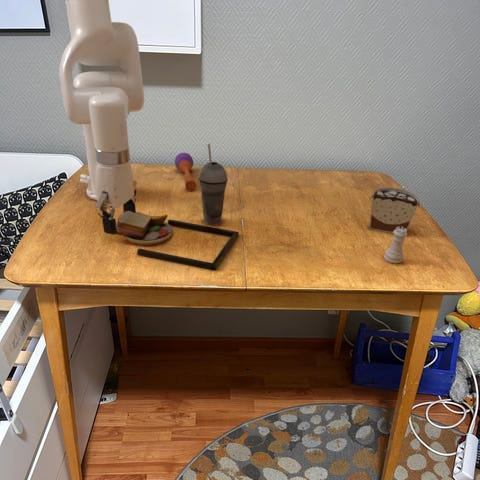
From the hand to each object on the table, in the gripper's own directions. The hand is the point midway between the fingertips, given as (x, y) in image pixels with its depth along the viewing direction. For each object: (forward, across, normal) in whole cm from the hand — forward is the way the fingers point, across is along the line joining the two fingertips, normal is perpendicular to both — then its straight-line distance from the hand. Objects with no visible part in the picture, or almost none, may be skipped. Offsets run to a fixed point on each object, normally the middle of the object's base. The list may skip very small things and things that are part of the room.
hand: (120, 225), depth 116 cm
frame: (+2, 0, +18) cm, 18 cm away
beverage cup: (+2, -15, +19) cm, 24 cm away
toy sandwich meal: (+2, 0, +6) cm, 7 cm away
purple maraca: (+2, -40, +1) cm, 41 cm away
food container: (+2, -30, +64) cm, 71 cm away
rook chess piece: (+2, -12, +66) cm, 67 cm away
